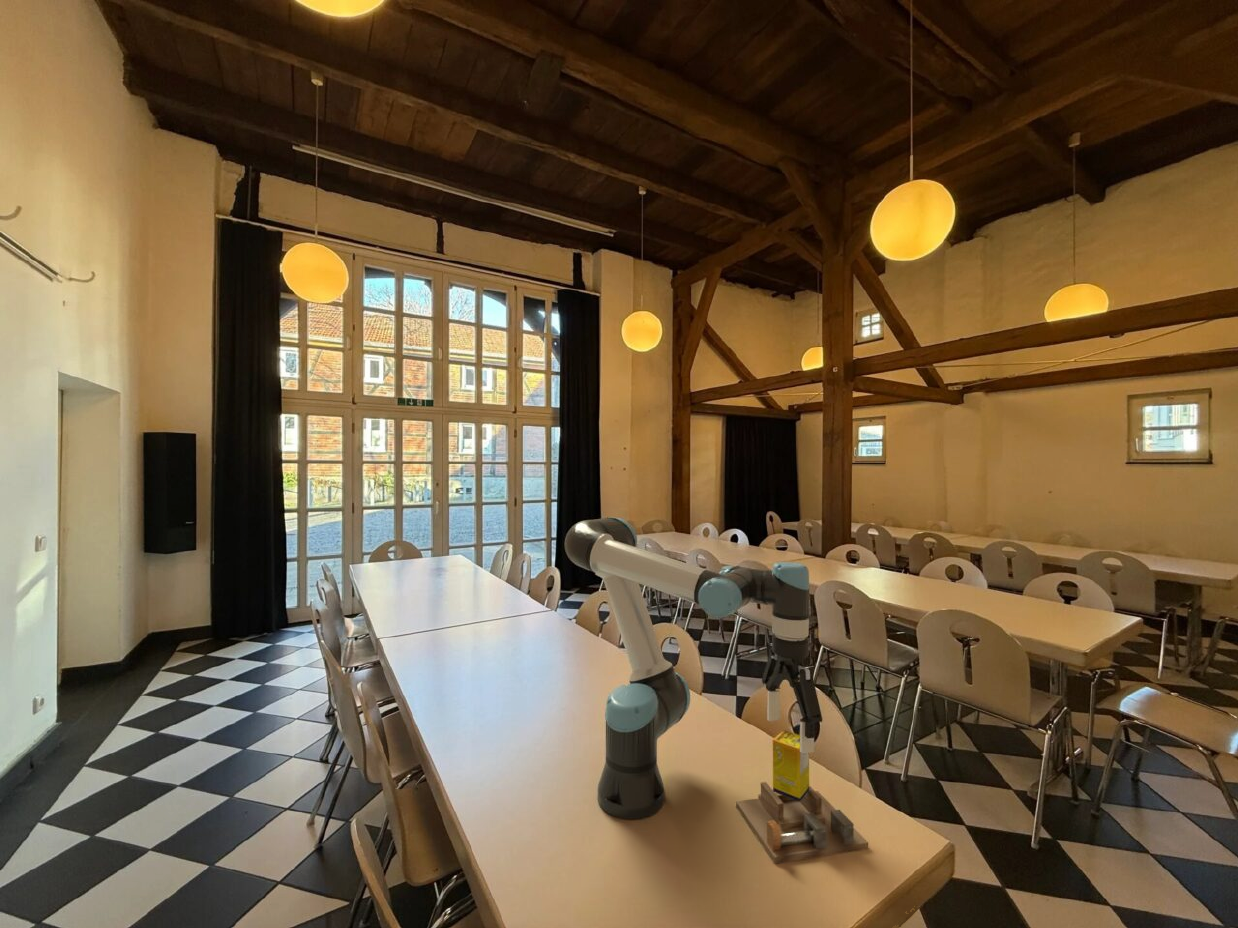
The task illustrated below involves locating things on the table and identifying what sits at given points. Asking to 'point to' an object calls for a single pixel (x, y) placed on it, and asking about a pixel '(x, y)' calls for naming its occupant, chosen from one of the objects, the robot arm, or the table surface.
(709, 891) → the table surface
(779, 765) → the supplement box
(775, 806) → the dock
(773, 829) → the lock pin
